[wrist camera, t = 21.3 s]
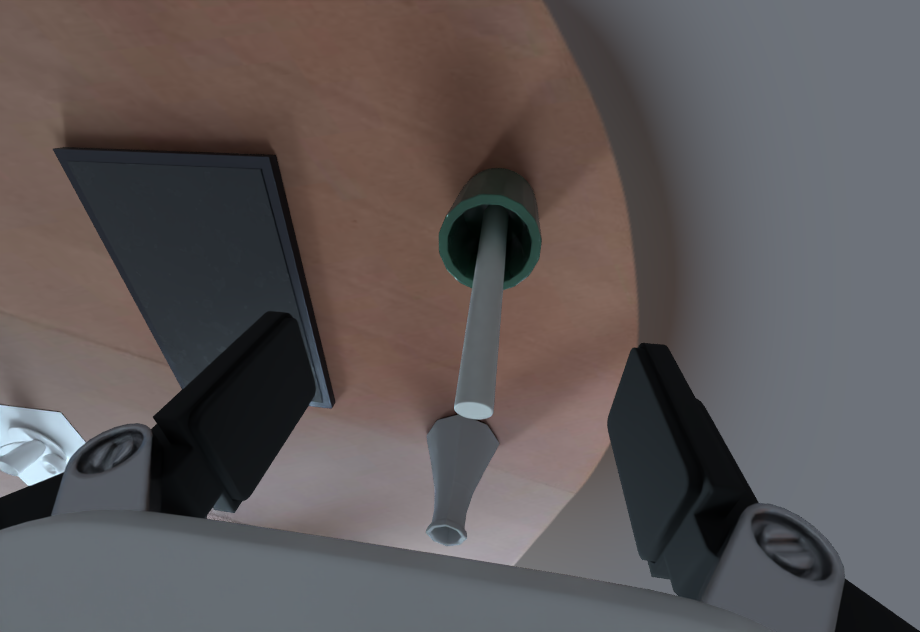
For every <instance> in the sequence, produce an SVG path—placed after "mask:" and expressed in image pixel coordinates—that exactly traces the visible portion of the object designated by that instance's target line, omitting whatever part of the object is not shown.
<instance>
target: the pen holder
mask: <svg viewBox="0 0 920 632" xmlns="http://www.w3.org/2000/svg"><path fill="white" fill-rule="evenodd" d="M489 204H490V205H501V206H503V207H505V208H506V209H507V211H508V214H509V217H508V230H507V243H506V256H505V269H504V282H503V290H505V289H508V288H512V287H514V286H516V285H517V284H518V283H520V282H521V281H523V280H524V279H525V278H527V277H528V276H529V275H530V274H531V272H532V270H533V269H534V267H535V265H536V264H537V262H538V260H539V257H540V250H541V242H542V238H541V230H540V222H539V214H538V206H537V202H536V198H535V194H534V192H533V190H532V188H531V186H530V185H529V183H528V182H527V181H526V180H525V179H524V178H523V177H522V176H521V175H519V174H518V173H516V172H514V171H511V170H508V169H504V168H492V169H487V170H484V171H482V172H479V173H478V174H476V175H475V176H473V177H472V178H471V179H470V180H469V181H468V182H467V183H466V184H465V185H464V186H463V188H462V190H461V191H460V193H459V195H458V196H457V198H456V200H455V202H454V203H453V205H452V207H451V208H450V210H449V212H448V213H447V215H446V217H445V219H444V222H443V224H442V227H441V229H440V232H439V252H440V256H441V258H442V260H443V262H444V265H445V267H446V269H447V270H448V271H449V272H450V273H451V274H452V275H453V276H454V277H455V278H456V279H457V280H458V281H459V282H460V283H461V284H464V285H466V286H468V287H470V288H472V286H473V280H474V273H475V267H476V260H477V254H478V247H479V241H480V234H481V227H482V221H483V214H484V211H485V209H486V208H487V207H488V206H489Z"/></svg>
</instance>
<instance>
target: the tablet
mask: <svg viewBox="0 0 920 632" xmlns="http://www.w3.org/2000/svg"><path fill="white" fill-rule="evenodd" d="M53 151H54V152H55V154H56V156H57V158H58V160H59V162H60V164H61V165H62V167H63V169H64V171H65V173H66V175H67V177H68V178H69V180H70V182H71V184H72V186H73V188H74V189H75V191H76V193H77V195H78V197H79V199H80V201H81V202H82V204H83V206H84V208H85V210H86V212H87V214H88V215H89V217H90V219H91V221H92V223H93V225H94V227H95V228H96V230H97V232H98V234H99V236H100V238H101V240H102V241H103V243H104V245H105V247H106V249H107V251H108V253H109V254H110V256H111V258H112V260H113V262H114V264H115V266H116V267H117V269H118V271H119V273H120V275H121V277H122V279H123V280H124V282H125V284H126V286H127V288H128V290H129V292H130V293H131V295H132V297H133V299H134V301H135V303H136V305H137V306H138V308H139V310H140V312H141V314H142V316H143V318H144V319H145V321H146V323H147V325H148V327H149V329H150V330H151V332H152V334H153V336H154V338H155V340H156V342H157V343H158V345H159V347H160V349H161V351H162V353H163V355H164V356H165V358H166V360H167V362H168V364H169V366H170V368H171V369H172V371H173V373H174V375H175V377H176V379H177V381H178V382H179V384H180V386H181V388H182V389H184V388H185V387H186V386H187V385H188V384H189V383H190V382H191V381H192V380H193V379H194V378H195V377H196V376H198V375H199V374H200V373H201V372H202V371H203V370H204V369H205V368H206V367H207V366H208V365H209V364H211V363H212V362H213V361H214V360H215V359H216V358H217V357H218V356H219V355H220V354H221V353H222V352H223V351H225V350H226V349H227V348H228V347H229V346H230V345H231V344H232V343H233V342H234V341H235V340H236V339H237V338H239V337H240V336H241V335H242V334H243V333H244V332H245V331H246V330H247V329H248V328H249V327H250V326H252V325H253V324H254V323H255V322H256V321H257V320H258V319H259V318H260V317H261V316H262V315H263V314H264V313H266V312H267V311H276V312H287V313H290V314H291V315H292V317H293V318H295V319H296V320H297V321H298V324H299V328H300V331H301V335H302V338H303V342H304V345H305V348H306V352H307V355H308V359H309V362H310V366H311V369H312V373H313V376H314V380H315V383H316V393H315V396H314V398H313V400H312V401H311V403H310V404H309V406H315V407H323V408H331V409H332V407H333V406H334V404H335V399H334V395H333V390H332V386H331V382H330V378H329V374H328V370H327V365H326V361H325V357H324V353H323V349H322V345H321V340H320V336H319V332H318V328H317V324H316V320H315V316H314V311H313V307H312V303H311V299H310V295H309V291H308V286H307V282H306V278H305V274H304V270H303V266H302V261H301V257H300V253H299V249H298V245H297V241H296V236H295V232H294V228H293V224H292V220H291V216H290V211H289V207H288V203H287V199H286V195H285V191H284V187H283V182H282V178H281V174H280V170H279V166H278V162H277V157H276V155H266V154H239V153H212V152H184V151H157V150H130V149H102V148H75V147H62V148H55V149H53Z"/></svg>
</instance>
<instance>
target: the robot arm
mask: <svg viewBox="0 0 920 632" xmlns="http://www.w3.org/2000/svg"><path fill="white" fill-rule="evenodd" d="M315 393H316V383H315V380H314V376H313V373H312V369H311V366H310V362H309V359H308V355H307V352H306V348H305V345H304V342H303V338H302V335H301V331H300V328H299V324H298V321H297V320H296V319H295V318H293V317H292V315H291V314H290V313H287V312H276V311H267V312H266V313H264V314H263V315H262V316H261V317H260V318H259V319H258V320H257V321H256V322H255V323H254V324H253V325H252V326H250V327H249V328H248V329H247V330H246V331H245V332H244V333H243V334H242V335H241V336H240V337H239V338H237V339H236V340H235V341H234V342H233V343H232V344H231V345H230V346H229V347H228V348H227V349H226V350H225V351H223V352H222V353H221V354H220V355H219V356H218V357H217V358H216V359H215V360H214V361H213V362H212V363H211V364H209V365H208V366H207V367H206V368H205V369H204V370H203V371H202V372H201V373H200V374H199V375H198V376H196V377H195V378H194V379H193V380H192V381H191V382H190V383H189V384H188V385H187V386H186V387H185V388H184V389H182V390H181V391H180V392H179V393H178V394H177V395H176V396H175V397H174V398H173V399H172V400H171V401H169V402H168V403H167V404H166V405H165V406H164V407H163V408H162V409H161V410H160V411H159V412H158V413H157V414H155V415H154V416H153V418H154V420H155V421H156V423H157V424H156V425H155V426H154V427H153V428H152V429H150V428H149V427H148V426H146V425H143V424H138V423H136V424H126V425H122V426H118V427H114V428H112V429H110V430H107V431H105V432H102V433H101V434H99V435H97V436H95V437H94V438H92V439H90V440H89V441H88V442H86V443H85V444H84V445H82V446H81V447H80V448H79V449H78V450H77V451H76V452H75V453H74V454H73V455H72V456H71V457H70V459H69V461H68V463H67V465H66V468H65V471H64V472H63V473H60V474H58V475H55V476H53V477H50V478H48V479H46V480H43V481H41V482H38V483H36V484H33V485H31V486H28V487H26V488H23V489H21V490H18V491H16V492H13V493H11V494H8V495H6V496H3V497H1V498H0V632H920V631H919V630H917V629H916V628H914V627H913V626H912V625H910V624H909V623H907V622H906V621H904V620H903V619H902V618H900V617H899V616H897V615H896V614H894V613H893V612H892V611H890V610H889V609H887V608H886V607H885V606H883V605H882V604H880V603H879V602H878V601H876V600H875V599H873V598H872V597H870V596H869V595H867V594H866V593H865V592H863V591H862V590H860V589H859V588H858V587H856V586H855V585H853V584H852V583H851V582H849V581H848V580H846V579H845V576H844V566H843V564H842V562H841V559H840V557H839V555H838V553H837V551H836V550H835V549H834V547H833V546H832V545H831V543H830V542H829V541H828V539H827V538H826V537H824V535H822V534H821V533H820V532H819V531H818V530H817V529H816V528H815V527H814V526H813V525H811V524H810V523H808V522H807V521H806V520H804V519H803V518H802V517H800V516H799V515H797V514H794V513H792V512H791V511H789V510H787V509H785V508H782V507H778V506H775V505H772V504H762V503H758V501H757V499H756V497H755V495H754V494H753V492H752V490H751V488H750V486H749V485H748V483H747V481H746V479H745V478H744V476H743V474H742V472H741V470H740V469H739V467H738V465H737V463H736V461H735V460H734V458H733V456H732V454H731V453H730V451H729V449H728V447H727V445H726V444H725V442H724V440H723V438H722V436H721V435H720V433H719V431H718V429H717V428H716V426H715V424H714V422H713V420H712V419H711V417H710V415H709V413H708V412H707V410H706V408H705V406H704V405H703V404H702V402H701V401H699V400H698V399H696V398H695V396H694V394H693V393H692V390H691V389H690V387H689V385H688V383H687V381H686V380H685V378H684V376H683V374H682V372H681V370H680V369H679V367H678V365H677V363H676V361H675V360H674V358H673V356H672V354H671V352H670V350H669V349H668V347H667V346H666V345H660V344H648V343H641V344H640V345H639V347H638V348H632V349H631V351H630V354H629V357H628V360H627V363H626V366H625V369H624V372H623V375H622V378H621V381H620V384H619V386H618V389H617V392H616V395H615V398H614V401H613V404H612V407H611V410H610V413H609V416H608V422H607V426H608V433H609V437H610V441H611V445H612V449H613V453H614V457H615V461H616V465H617V468H618V473H619V477H620V481H621V485H622V489H623V493H624V497H625V501H626V505H627V509H628V513H629V517H630V521H631V525H632V529H633V533H634V537H635V541H636V545H637V549H638V552H639V555H640V557H641V559H642V560H647V561H648V565H649V568H650V572H651V576H652V577H657V578H664V579H670V580H671V583H672V587H673V590H674V592H675V593H676V594H677V595H678V596H675V595H671V594H667V593H662V592H658V591H654V590H649V589H643V588H637V587H632V586H627V585H621V584H615V583H610V582H604V581H599V580H593V579H587V578H582V577H576V576H571V575H565V574H558V573H552V572H546V571H540V570H533V569H527V568H521V567H515V566H509V565H503V564H496V563H490V562H484V561H478V560H472V559H465V558H459V557H453V556H447V555H440V554H434V553H427V552H421V551H415V550H408V549H402V548H395V547H389V546H383V545H376V544H370V543H363V542H357V541H350V540H344V539H338V538H331V537H325V536H318V535H312V534H305V533H298V532H292V531H285V530H278V529H272V528H265V527H258V526H252V525H245V524H238V523H232V522H225V521H218V520H211V519H207V514H208V513H209V512H210V510H211V509H212V507H213V508H214V509H215V510H218V511H225V512H232V513H235V511H236V510H237V508H238V507H239V505H240V504H241V502H242V501H244V500H247V499H248V498H249V497H250V496H251V494H252V493H253V491H254V490H255V488H256V487H257V485H258V484H259V482H260V480H261V479H262V477H263V476H264V474H265V473H266V471H267V470H268V468H269V466H270V465H271V463H272V462H273V460H274V459H275V457H276V456H277V454H278V452H279V451H280V449H281V448H282V446H283V445H284V443H285V442H286V440H287V438H288V437H289V435H290V434H291V432H292V431H293V429H294V428H295V426H296V424H297V423H298V421H299V420H300V418H301V417H302V415H303V414H304V412H305V410H306V409H307V407H308V406H309V404H310V403H311V401H312V400H313V398H314V396H315Z"/></svg>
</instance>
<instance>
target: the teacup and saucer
mask: <svg viewBox="0 0 920 632" xmlns="http://www.w3.org/2000/svg"><path fill="white" fill-rule="evenodd" d="M6 435H7V437H8V439H9V440H10V441H11V442H9V443H5V444H3V445H0V449H2V448H5V447H8V446H12V445H15V446H16V447H15V448H13V449H11V450H10V451H8V452H7V453H5V454H0V470H1V471H3V472H5V473H7V474H10V475H13V476H20V475H21V474H22V473H23V472H25V471H26V470H27V469H28V468H29V467H30V466H32V465H33V464H34V463H35V462H36V461H37V460H38V461H39V463H40V465H41V467H42V469H43V470H44V471H45V472H47V473H48V474H49V475H51V476H55V475H58V474H60V473H63V472H64V471H65V468H66V465H67V463H68V457H67V455H66V453H65V452H64V450H63V449H62V448H61V447H60V446H59V445H58V444H57V443H55V442H54V441H53V440H51V439H50V438H48V437H47V436H45V435H43V434H42V433H40V432H38V431H35V430H33V429H30V428H27V427H23V426H10V427H9V428H8V429H7V430H6Z"/></svg>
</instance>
